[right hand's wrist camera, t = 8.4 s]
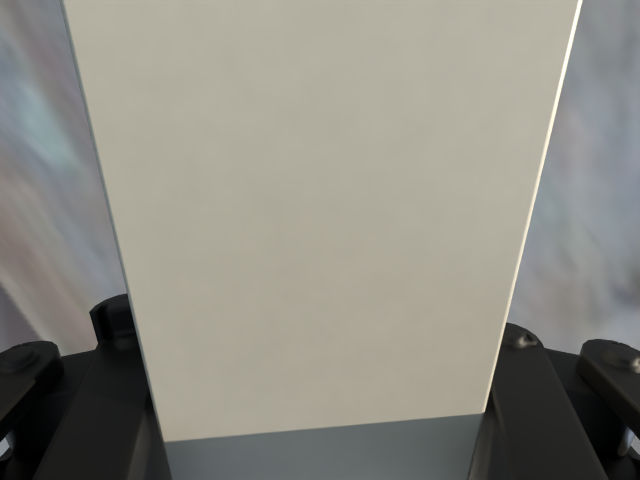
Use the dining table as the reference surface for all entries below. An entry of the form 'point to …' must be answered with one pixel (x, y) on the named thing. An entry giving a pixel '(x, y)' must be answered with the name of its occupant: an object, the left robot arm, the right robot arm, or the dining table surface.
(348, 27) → the bar
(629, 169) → the dining table surface
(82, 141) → the dining table surface
